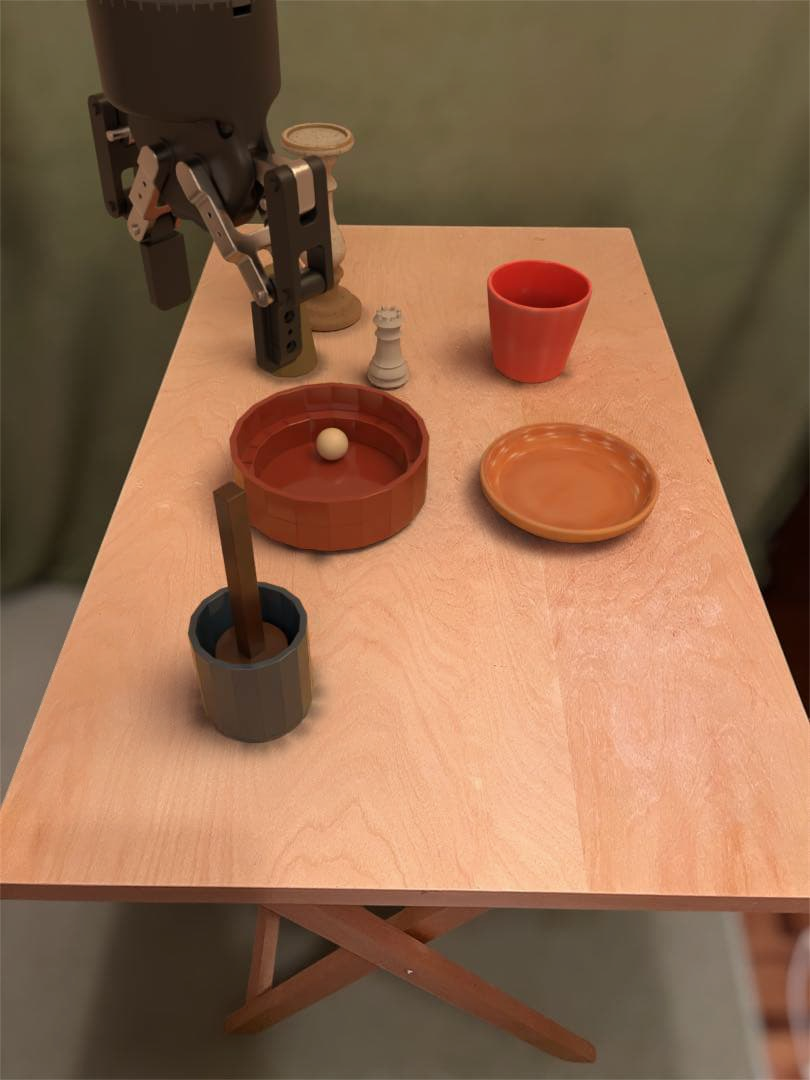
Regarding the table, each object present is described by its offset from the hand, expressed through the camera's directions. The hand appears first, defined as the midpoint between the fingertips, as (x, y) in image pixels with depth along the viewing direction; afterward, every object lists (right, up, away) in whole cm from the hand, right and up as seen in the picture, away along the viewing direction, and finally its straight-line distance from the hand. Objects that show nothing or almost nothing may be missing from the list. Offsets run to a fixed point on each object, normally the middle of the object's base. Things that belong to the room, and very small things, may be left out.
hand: (223, 333), depth 47 cm
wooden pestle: (-1, -22, +19) cm, 29 cm away
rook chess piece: (+8, +6, +50) cm, 51 cm away
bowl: (+3, -6, +36) cm, 37 cm away
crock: (-1, -22, +19) cm, 29 cm away
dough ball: (+3, -2, +38) cm, 38 cm away
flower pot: (+23, +8, +53) cm, 58 cm away
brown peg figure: (-3, +9, +52) cm, 53 cm away
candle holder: (0, +16, +60) cm, 62 cm away
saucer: (+24, -7, +36) cm, 44 cm away
